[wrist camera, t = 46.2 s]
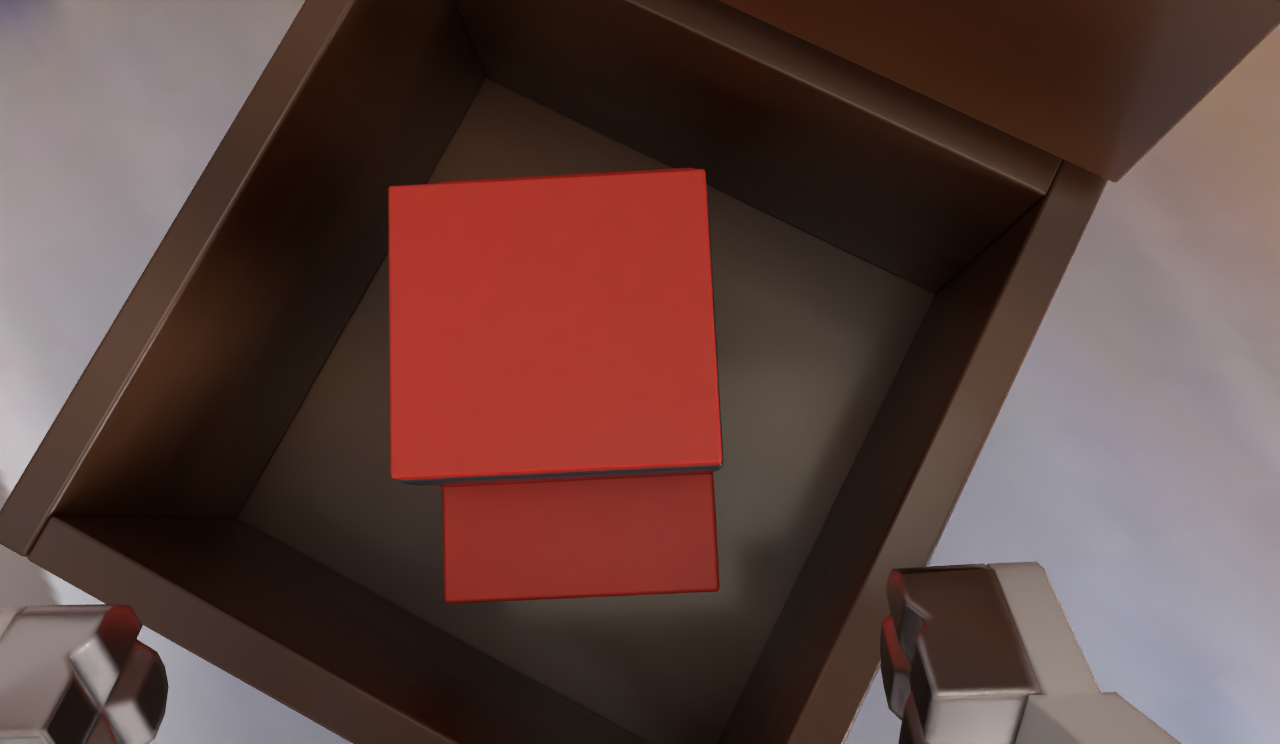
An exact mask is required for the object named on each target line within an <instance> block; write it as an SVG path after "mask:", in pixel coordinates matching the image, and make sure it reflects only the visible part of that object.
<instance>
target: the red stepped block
mask: <svg viewBox="0 0 1280 744" xmlns="http://www.w3.org/2000/svg"><path fill="white" fill-rule="evenodd" d="M388 212H389V353H390V475H391V478H394V479H398V480H399V482H401V483H404V484H410V485H416V486H426V485H435V486H441V487H442V493H443V559H444V600H445V602H446V603H448V604H449V603H472V602H494V601H516V600H539V599H561V598H583V597H606V596H628V595H650V594H673V593H695V592H716V591H718V590H719V587H720V584H719V567H718V549H717V527H716V509H715V494H714V479H713V472H716V471H718V470H720V468H721V467H722V465H723V462H724V460H723V443H722V426H721V409H720V392H719V375H718V358H717V341H716V324H715V307H714V291H713V274H712V257H711V240H710V223H709V206H708V189H707V182H706V174H705V170H704V169H695V168H692V167H691V168H673V169H655V170H637V171H619V172H601V173H583V174H565V175H547V176H529V177H511V178H493V179H475V180H457V181H441V182H439V183H437V184H419V185H401V186H390V187H389V189H388Z"/></svg>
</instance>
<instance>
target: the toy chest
mask: <svg viewBox="0 0 1280 744" xmlns="http://www.w3.org/2000/svg"><path fill="white" fill-rule="evenodd" d="M691 167H692V168H695V169H704V170H705V174H706V182H707V189H708V206H709V223H710V240H711V257H712V274H713V291H714V307H715V324H716V341H717V358H718V375H719V392H720V409H721V426H722V443H723V460H724V462H723V465H722V467H721V468H720V470H718V471H716V472H713V479H714V494H715V509H716V527H717V549H718V567H719V584H720V587H719V590H718V591H716V592H695V593H673V594H650V595H628V596H606V597H583V598H561V599H539V600H516V601H494V602H472V603H449V604H448V603H446V602H445V600H444V559H443V493H442V487H441V486H435V485H426V486H416V485H410V484H404V483H401V482H399V480H398V479H394V478H391V475H390V353H389V212H388V189H389V187H390V186H401V185H419V184H437V183H439V182H441V181H457V180H475V179H493V178H511V177H529V176H547V175H565V174H583V173H601V172H619V171H637V170H655V169H673V168H691ZM1107 181H1108V179H1106V178H1104V177H1101V176H1099V175H1097V174H1095V173H1093V172H1091V171H1088V170H1086V169H1084V168H1082V167H1080V166H1078V165H1075V164H1073V163H1071V162H1069V161H1067V160H1064V159H1062V158H1060V157H1058V156H1056V155H1054V154H1051V153H1049V152H1047V151H1045V150H1043V149H1041V148H1038V147H1036V146H1034V145H1032V144H1030V143H1028V142H1025V141H1023V140H1021V139H1019V138H1017V137H1014V136H1012V135H1010V134H1008V133H1006V132H1004V131H1001V130H999V129H997V128H995V127H993V126H991V125H988V124H986V123H984V122H982V121H980V120H978V119H975V118H973V117H971V116H969V115H967V114H964V113H962V112H960V111H958V110H956V109H954V108H951V107H949V106H947V105H945V104H943V103H941V102H938V101H936V100H934V99H932V98H930V97H928V96H925V95H923V94H921V93H919V92H917V91H914V90H912V89H910V88H908V87H906V86H904V85H901V84H899V83H897V82H895V81H893V80H891V79H888V78H886V77H884V76H882V75H880V74H877V73H875V72H873V71H871V70H869V69H867V68H864V67H862V66H860V65H858V64H856V63H854V62H851V61H849V60H847V59H845V58H843V57H841V56H838V55H836V54H834V53H832V52H830V51H827V50H825V49H823V48H821V47H819V46H817V45H814V44H812V43H810V42H808V41H806V40H804V39H801V38H799V37H797V36H795V35H793V34H791V33H788V32H786V31H784V30H782V29H780V28H777V27H775V26H773V25H771V24H769V23H767V22H764V21H762V20H760V19H758V18H756V17H754V16H751V15H749V14H747V13H745V12H743V11H741V10H738V9H736V8H734V7H732V6H730V5H727V4H725V3H723V2H721V1H719V0H306V1H305V3H304V4H303V6H302V8H301V9H300V11H299V13H298V14H297V16H296V18H295V19H294V21H293V23H292V24H291V26H290V28H289V29H288V31H287V33H286V34H285V36H284V38H283V39H282V41H281V43H280V44H279V46H278V48H277V49H276V51H275V53H274V54H273V56H272V58H271V59H270V61H269V63H268V64H267V66H266V68H265V69H264V71H263V73H262V74H261V76H260V78H259V79H258V81H257V83H256V84H255V86H254V88H253V90H252V91H251V93H250V95H249V96H248V98H247V100H246V101H245V103H244V105H243V106H242V108H241V110H240V111H239V113H238V115H237V116H236V118H235V120H234V121H233V123H232V125H231V126H230V128H229V130H228V131H227V133H226V135H225V136H224V138H223V140H222V141H221V143H220V145H219V146H218V148H217V150H216V151H215V153H214V155H213V156H212V158H211V160H210V161H209V163H208V165H207V166H206V168H205V170H204V171H203V173H202V175H201V176H200V178H199V180H198V181H197V183H196V185H195V186H194V188H193V190H192V191H191V193H190V195H189V196H188V198H187V200H186V202H185V203H184V205H183V207H182V208H181V210H180V212H179V213H178V215H177V217H176V218H175V220H174V222H173V223H172V225H171V227H170V228H169V230H168V232H167V233H166V235H165V237H164V238H163V240H162V242H161V243H160V245H159V247H158V248H157V250H156V252H155V253H154V255H153V257H152V258H151V260H150V262H149V263H148V265H147V267H146V268H145V270H144V272H143V273H142V275H141V277H140V278H139V280H138V282H137V283H136V285H135V287H134V288H133V290H132V292H131V293H130V295H129V297H128V298H127V300H126V302H125V303H124V305H123V307H122V309H121V310H120V312H119V314H118V315H117V317H116V319H115V320H114V322H113V324H112V325H111V327H110V329H109V330H108V332H107V334H106V335H105V337H104V339H103V340H102V342H101V344H100V345H99V347H98V349H97V350H96V352H95V354H94V355H93V357H92V359H91V360H90V362H89V364H88V365H87V367H86V369H85V370H84V372H83V374H82V375H81V377H80V379H79V380H78V382H77V384H76V385H75V387H74V389H73V390H72V392H71V394H70V395H69V397H68V399H67V400H66V402H65V404H64V405H63V407H62V409H61V410H60V412H59V414H58V415H57V417H56V419H55V421H54V422H53V424H52V426H51V427H50V429H49V431H48V432H47V434H46V436H45V437H44V439H43V441H42V442H41V444H40V446H39V447H38V449H37V451H36V452H35V454H34V456H33V457H32V459H31V461H30V462H29V464H28V466H27V467H26V469H25V471H24V472H23V474H22V476H21V477H20V479H19V481H18V482H17V484H16V486H15V487H14V489H13V491H12V492H11V494H10V496H9V497H8V499H7V501H6V502H5V504H4V506H3V508H2V509H1V511H0V544H2V545H4V546H6V547H7V548H9V549H11V550H12V551H14V552H16V553H18V554H20V555H21V556H26V557H28V559H29V560H30V561H31V562H33V563H35V564H37V565H38V566H40V567H42V568H43V569H45V570H47V571H49V572H51V573H52V574H54V575H56V576H58V577H59V578H61V579H63V580H65V581H66V582H68V583H70V584H72V585H74V586H75V587H77V588H79V589H81V590H82V591H84V592H86V593H88V594H89V595H91V596H93V597H95V598H97V599H98V600H100V601H102V602H104V603H105V604H120V605H131V607H132V608H133V610H134V612H135V613H136V615H137V617H138V618H139V620H140V621H141V623H142V624H143V625H144V626H146V627H148V628H150V629H151V630H153V631H155V632H157V633H158V634H160V635H162V636H164V637H165V638H167V639H169V640H171V641H173V642H174V643H176V644H178V645H180V646H181V647H183V648H185V649H187V650H188V651H190V652H192V653H194V654H196V655H197V656H199V657H201V658H203V659H204V660H206V661H208V662H210V663H211V664H213V665H215V666H217V667H219V668H220V669H222V670H224V671H226V672H227V673H229V674H231V675H233V676H234V677H236V678H238V679H240V680H242V681H243V682H245V683H247V684H249V685H250V686H252V687H254V688H256V689H257V690H259V691H261V692H263V693H265V694H266V695H268V696H270V697H272V698H273V699H275V700H277V701H279V702H280V703H282V704H284V705H286V706H288V707H289V708H291V709H293V710H295V711H296V712H298V713H300V714H302V715H303V716H305V717H307V718H309V719H310V720H312V721H314V722H316V723H318V724H319V725H321V726H323V727H325V728H326V729H328V730H330V731H332V732H333V733H335V734H337V735H339V736H341V737H342V738H344V739H346V740H348V741H349V742H351V743H353V744H844V742H845V740H846V738H847V736H848V734H849V732H850V730H851V727H852V725H853V723H854V721H855V719H856V717H857V715H858V712H859V710H860V708H861V706H862V704H863V702H864V700H865V698H866V695H867V693H868V691H869V689H870V687H871V685H872V683H873V680H874V678H875V676H876V674H877V672H878V670H879V668H880V666H881V659H880V636H881V625H882V621H883V620H884V619H885V618H886V617H887V616H888V615H889V614H890V613H891V612H890V608H889V604H888V600H887V596H886V587H887V581H888V576H889V574H890V572H891V570H892V569H896V568H914V567H927V565H928V563H929V561H930V559H931V557H932V555H933V552H934V550H935V548H936V546H937V544H938V542H939V540H940V537H941V535H942V533H943V531H944V529H945V527H946V525H947V523H948V520H949V518H950V516H951V514H952V512H953V510H954V508H955V505H956V503H957V501H958V499H959V497H960V495H961V493H962V491H963V488H964V486H965V484H966V482H967V480H968V478H969V476H970V473H971V471H972V469H973V467H974V465H975V463H976V461H977V459H978V456H979V454H980V452H981V450H982V448H983V446H984V444H985V441H986V439H987V437H988V435H989V433H990V431H991V429H992V427H993V424H994V422H995V420H996V418H997V416H998V414H999V412H1000V409H1001V407H1002V405H1003V403H1004V401H1005V399H1006V397H1007V395H1008V392H1009V390H1010V388H1011V386H1012V384H1013V382H1014V380H1015V377H1016V375H1017V373H1018V371H1019V369H1020V367H1021V365H1022V363H1023V360H1024V358H1025V356H1026V354H1027V352H1028V350H1029V348H1030V345H1031V343H1032V341H1033V339H1034V337H1035V335H1036V333H1037V331H1038V328H1039V326H1040V324H1041V322H1042V320H1043V318H1044V316H1045V313H1046V311H1047V309H1048V307H1049V305H1050V303H1051V301H1052V298H1053V296H1054V294H1055V292H1056V290H1057V288H1058V286H1059V284H1060V281H1061V279H1062V277H1063V275H1064V273H1065V271H1066V269H1067V266H1068V264H1069V262H1070V260H1071V258H1072V256H1073V254H1074V252H1075V249H1076V247H1077V245H1078V243H1079V241H1080V239H1081V237H1082V234H1083V232H1084V230H1085V228H1086V226H1087V224H1088V222H1089V220H1090V217H1091V215H1092V213H1093V211H1094V209H1095V207H1096V205H1097V202H1098V200H1099V198H1100V196H1101V194H1102V192H1103V190H1104V188H1105V185H1106V183H1107Z"/></svg>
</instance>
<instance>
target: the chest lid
mask: <svg viewBox="0 0 1280 744" xmlns="http://www.w3.org/2000/svg"><path fill="white" fill-rule="evenodd" d="M719 1H721V2H723V3H725V4H727V5H730V6H732V7H734V8H736V9H738V10H741V11H743V12H745V13H747V14H749V15H751V16H754V17H756V18H758V19H760V20H762V21H764V22H767V23H769V24H771V25H773V26H775V27H777V28H780V29H782V30H784V31H786V32H788V33H791V34H793V35H795V36H797V37H799V38H801V39H804V40H806V41H808V42H810V43H812V44H814V45H817V46H819V47H821V48H823V49H825V50H827V51H830V52H832V53H834V54H836V55H838V56H841V57H843V58H845V59H847V60H849V61H851V62H854V63H856V64H858V65H860V66H862V67H864V68H867V69H869V70H871V71H873V72H875V73H877V74H880V75H882V76H884V77H886V78H888V79H891V80H893V81H895V82H897V83H899V84H901V85H904V86H906V87H908V88H910V89H912V90H914V91H917V92H919V93H921V94H923V95H925V96H928V97H930V98H932V99H934V100H936V101H938V102H941V103H943V104H945V105H947V106H949V107H951V108H954V109H956V110H958V111H960V112H962V113H964V114H967V115H969V116H971V117H973V118H975V119H978V120H980V121H982V122H984V123H986V124H988V125H991V126H993V127H995V128H997V129H999V130H1001V131H1004V132H1006V133H1008V134H1010V135H1012V136H1014V137H1017V138H1019V139H1021V140H1023V141H1025V142H1028V143H1030V144H1032V145H1034V146H1036V147H1038V148H1041V149H1043V150H1045V151H1047V152H1049V153H1051V154H1054V155H1056V156H1058V157H1060V158H1062V159H1064V160H1067V161H1069V162H1071V163H1073V164H1075V165H1078V166H1080V167H1082V168H1084V169H1086V170H1088V171H1091V172H1093V173H1095V174H1097V175H1099V176H1101V177H1104V178H1106V179H1108V180H1110V181H1112V182H1118V181H1119V180H1120V179H1121V178H1122V177H1123V176H1124V175H1125V174H1126V173H1127V172H1128V171H1129V170H1130V169H1131V168H1132V167H1133V166H1134V165H1135V164H1136V163H1137V162H1138V161H1139V160H1140V159H1141V158H1142V157H1143V156H1144V155H1145V154H1147V153H1148V152H1149V151H1150V150H1151V149H1152V148H1153V147H1154V146H1155V145H1156V144H1157V143H1158V142H1159V141H1160V140H1161V139H1162V138H1163V137H1164V136H1165V135H1166V134H1167V133H1168V132H1169V131H1170V130H1171V129H1172V128H1173V127H1174V126H1175V125H1176V124H1177V123H1178V122H1179V121H1180V120H1181V119H1182V118H1184V117H1185V116H1186V115H1187V114H1188V113H1189V112H1190V111H1191V110H1192V109H1193V108H1194V107H1195V106H1196V105H1197V104H1198V103H1199V102H1200V101H1201V100H1202V99H1203V98H1204V97H1205V96H1206V95H1207V94H1208V93H1209V92H1210V91H1211V90H1212V89H1213V88H1214V87H1215V86H1216V85H1217V84H1218V83H1219V82H1221V81H1222V80H1223V79H1224V78H1225V77H1226V76H1227V75H1228V74H1229V73H1230V72H1231V71H1232V70H1233V69H1234V68H1235V67H1236V66H1237V65H1238V64H1239V63H1240V62H1241V61H1242V60H1243V59H1244V58H1245V57H1246V56H1247V55H1248V54H1249V53H1250V52H1251V51H1252V50H1253V49H1254V48H1255V47H1256V46H1258V45H1259V44H1260V43H1261V42H1262V41H1263V40H1264V39H1265V38H1266V37H1267V36H1268V35H1269V34H1270V33H1271V32H1272V31H1273V30H1274V29H1275V28H1276V27H1277V26H1278V25H1279V24H1280V0H719Z"/></svg>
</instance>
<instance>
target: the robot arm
mask: <svg viewBox="0 0 1280 744" xmlns="http://www.w3.org/2000/svg"><path fill="white" fill-rule="evenodd" d="M886 596H887V600H888V604H889V608H890V612H891V613H890V614H889V615H888V616H887V617H886V618H885V619H884V620H883V621H882V625H881V636H880V659H881V671H882V678H883V684H884V689H885V694H886V698H887V702H888V707H889V709H890V710H891V711H892V712H893V713H894V714H895V715H896V716H897V717H898V718H899V719H900V720H902V725H901V731H900V738H899V744H1181V743H1180V742H1179V741H1178V740H1176V739H1175V738H1174V737H1172V736H1171V735H1170V734H1169V733H1167V732H1166V731H1165V730H1163V729H1162V728H1161V727H1160V726H1158V725H1157V724H1156V723H1154V722H1153V721H1152V720H1151V719H1149V718H1148V717H1147V716H1145V715H1144V714H1143V713H1142V712H1140V711H1139V710H1138V709H1136V708H1135V707H1134V706H1133V705H1131V704H1130V703H1129V702H1127V701H1126V700H1125V699H1124V698H1122V697H1121V696H1120V695H1118V694H1117V693H1116V692H1100V690H1099V688H1098V686H1097V683H1096V681H1095V679H1094V677H1093V675H1092V672H1091V670H1090V668H1089V666H1088V664H1087V661H1086V659H1085V657H1084V655H1083V653H1082V650H1081V648H1080V646H1079V644H1078V642H1077V640H1076V637H1075V635H1074V633H1073V631H1072V629H1071V626H1070V624H1069V622H1068V620H1067V618H1066V615H1065V613H1064V611H1063V609H1062V607H1061V604H1060V602H1059V600H1058V598H1057V596H1056V593H1055V591H1054V589H1053V587H1052V585H1051V582H1050V580H1049V578H1048V576H1047V574H1046V572H1045V569H1044V568H1043V567H1042V566H1040V565H1039V564H1038V563H1037V562H1019V563H998V564H987V565H985V564H968V565H950V566H932V567H914V568H896V569H892V570H891V572H890V574H889V576H888V581H887V587H886ZM142 626H143V625H142V623H141V621H140V620H139V618H138V617H137V615H136V613H135V612H134V610H133V608H132V607H131V605H120V604H103V605H50V606H49V605H48V606H25V607H24V606H20V607H0V744H149V743H150V742H151V741H152V740H153V739H155V737H156V734H157V732H158V729H159V727H160V724H161V722H162V719H163V717H164V715H165V709H166V701H167V693H168V681H167V676H166V670H165V666H164V664H163V662H162V660H161V658H160V656H159V654H158V653H157V652H156V651H155V650H153V649H151V648H150V647H148V646H147V645H145V644H143V643H142V642H140V641H138V640H137V639H136V638H137V636H138V634H139V632H140V630H141V628H142Z"/></svg>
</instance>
